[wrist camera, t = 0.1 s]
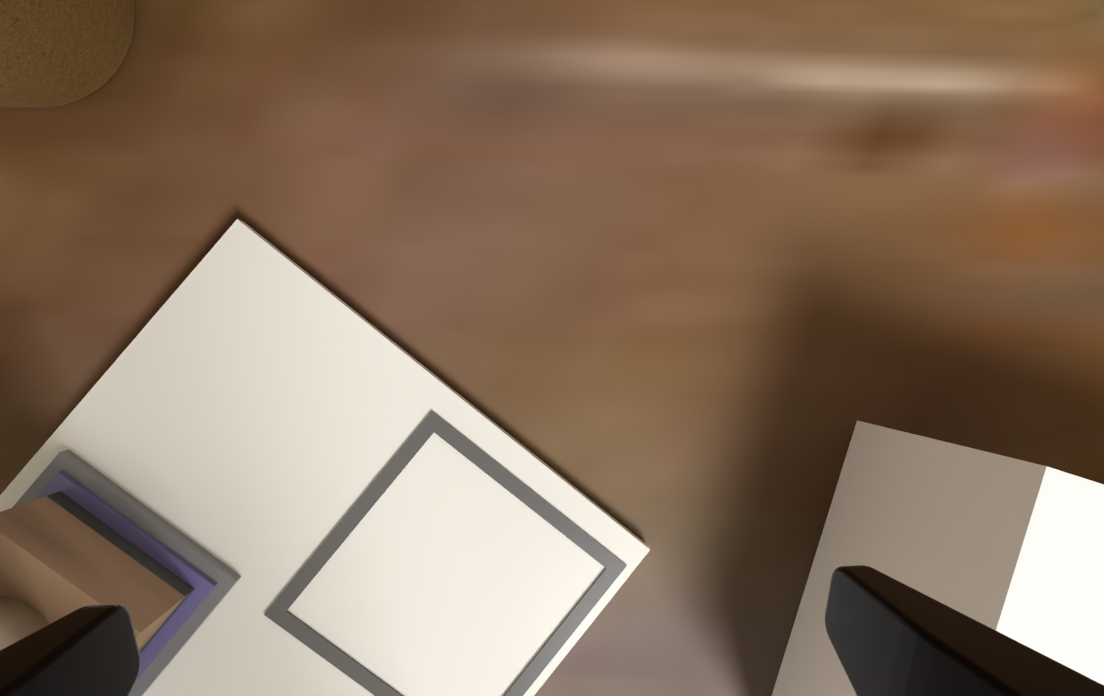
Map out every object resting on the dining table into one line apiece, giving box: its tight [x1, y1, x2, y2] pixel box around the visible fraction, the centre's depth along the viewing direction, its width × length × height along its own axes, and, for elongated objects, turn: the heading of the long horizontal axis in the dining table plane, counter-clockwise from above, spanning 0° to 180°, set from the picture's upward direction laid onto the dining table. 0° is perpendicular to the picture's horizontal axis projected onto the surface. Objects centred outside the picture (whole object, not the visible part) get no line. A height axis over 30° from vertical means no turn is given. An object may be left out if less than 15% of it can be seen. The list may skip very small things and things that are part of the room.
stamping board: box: [0, 219, 650, 696], centre depth 21 cm, size 21×21×1 cm
